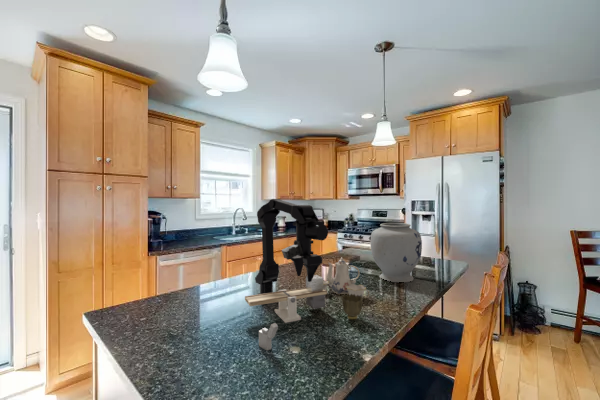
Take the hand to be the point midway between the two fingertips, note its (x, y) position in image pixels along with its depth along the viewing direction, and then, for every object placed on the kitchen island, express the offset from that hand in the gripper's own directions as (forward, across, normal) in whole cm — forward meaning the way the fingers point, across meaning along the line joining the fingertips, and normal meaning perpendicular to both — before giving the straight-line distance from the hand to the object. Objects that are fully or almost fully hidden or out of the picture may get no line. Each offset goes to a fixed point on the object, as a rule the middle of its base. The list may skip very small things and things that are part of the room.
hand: (304, 278), depth 110 cm
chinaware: (+13, -13, +25) cm, 31 cm away
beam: (+11, 0, -7) cm, 13 cm away
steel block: (+5, 0, +4) cm, 7 cm away
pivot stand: (+13, 0, -7) cm, 15 cm away
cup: (+13, +13, +13) cm, 23 cm away
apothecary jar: (+13, -21, +66) cm, 71 cm away
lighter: (+13, +20, -21) cm, 32 cm away
